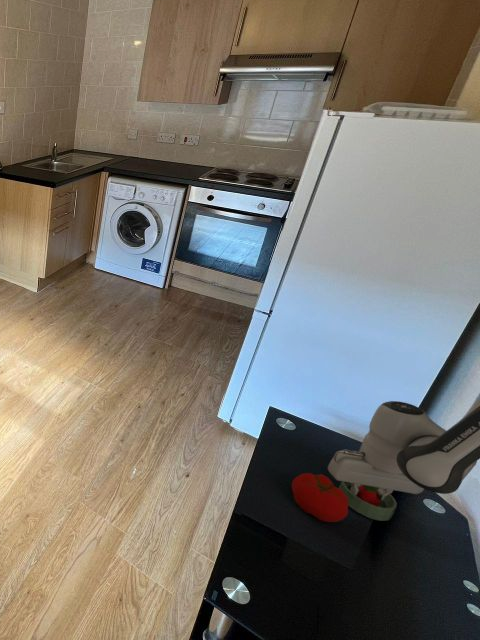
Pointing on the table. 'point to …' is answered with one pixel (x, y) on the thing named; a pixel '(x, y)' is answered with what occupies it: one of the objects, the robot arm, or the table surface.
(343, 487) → the bowl
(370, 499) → the strawberry
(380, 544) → the table surface
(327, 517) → the tomato
